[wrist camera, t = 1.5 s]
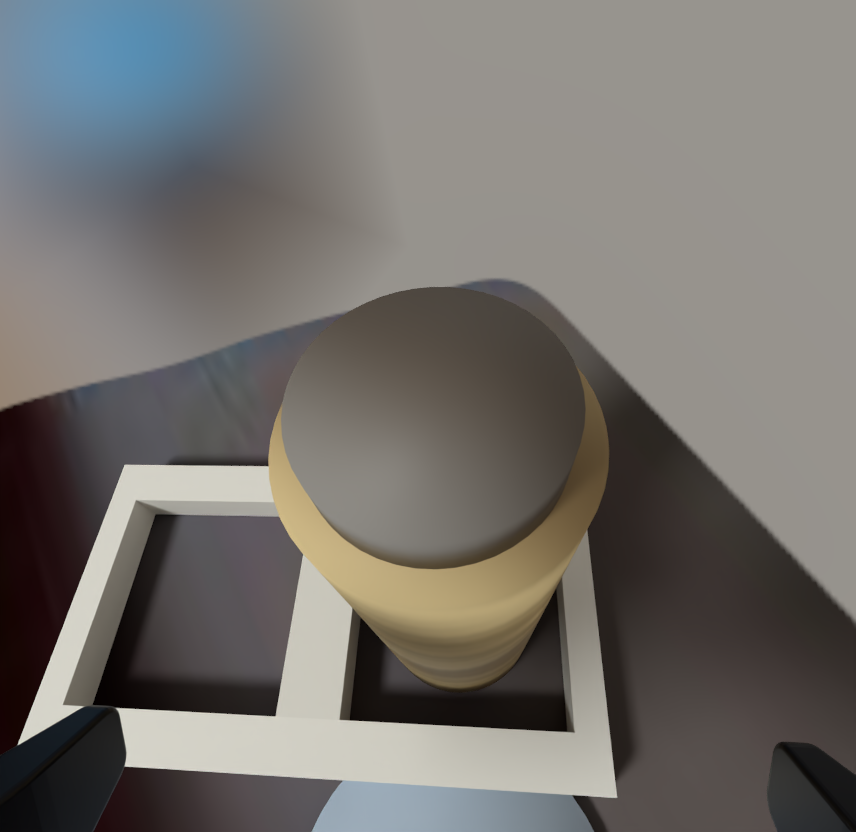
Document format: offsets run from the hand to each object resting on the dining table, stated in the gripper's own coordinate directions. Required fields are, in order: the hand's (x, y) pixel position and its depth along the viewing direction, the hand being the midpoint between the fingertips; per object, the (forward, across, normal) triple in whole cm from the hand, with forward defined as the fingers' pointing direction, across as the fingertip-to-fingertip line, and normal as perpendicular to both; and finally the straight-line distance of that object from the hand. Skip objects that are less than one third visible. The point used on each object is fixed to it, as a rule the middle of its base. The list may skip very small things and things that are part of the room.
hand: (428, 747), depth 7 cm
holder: (+11, +4, +5) cm, 13 cm away
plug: (+11, 0, +5) cm, 12 cm away
